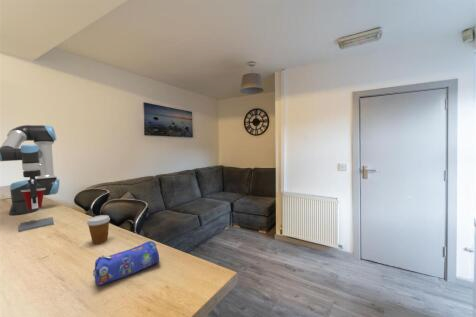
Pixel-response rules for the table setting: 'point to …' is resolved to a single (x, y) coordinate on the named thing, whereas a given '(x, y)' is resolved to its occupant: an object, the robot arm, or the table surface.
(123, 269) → the pencil case
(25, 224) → the slate tile
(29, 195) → the plastic cup
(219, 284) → the table surface
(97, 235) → the disposable coffee cup
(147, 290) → the table surface
